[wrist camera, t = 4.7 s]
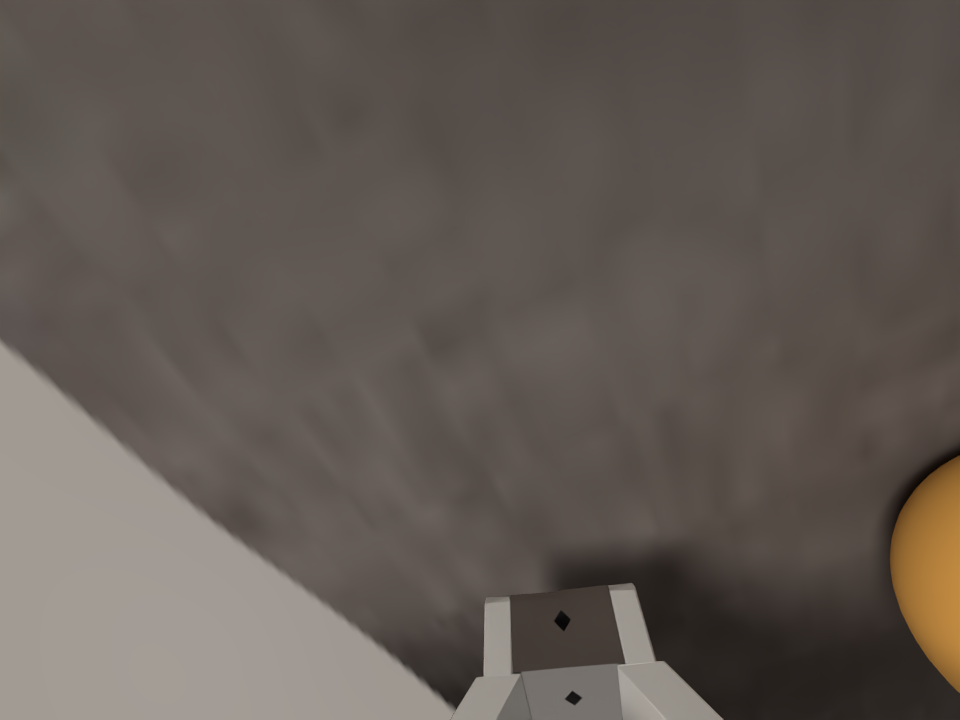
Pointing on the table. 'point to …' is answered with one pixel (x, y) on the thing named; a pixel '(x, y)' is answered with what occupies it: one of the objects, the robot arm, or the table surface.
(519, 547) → the table surface
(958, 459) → the ball
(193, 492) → the table surface
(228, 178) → the table surface
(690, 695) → the robot arm
